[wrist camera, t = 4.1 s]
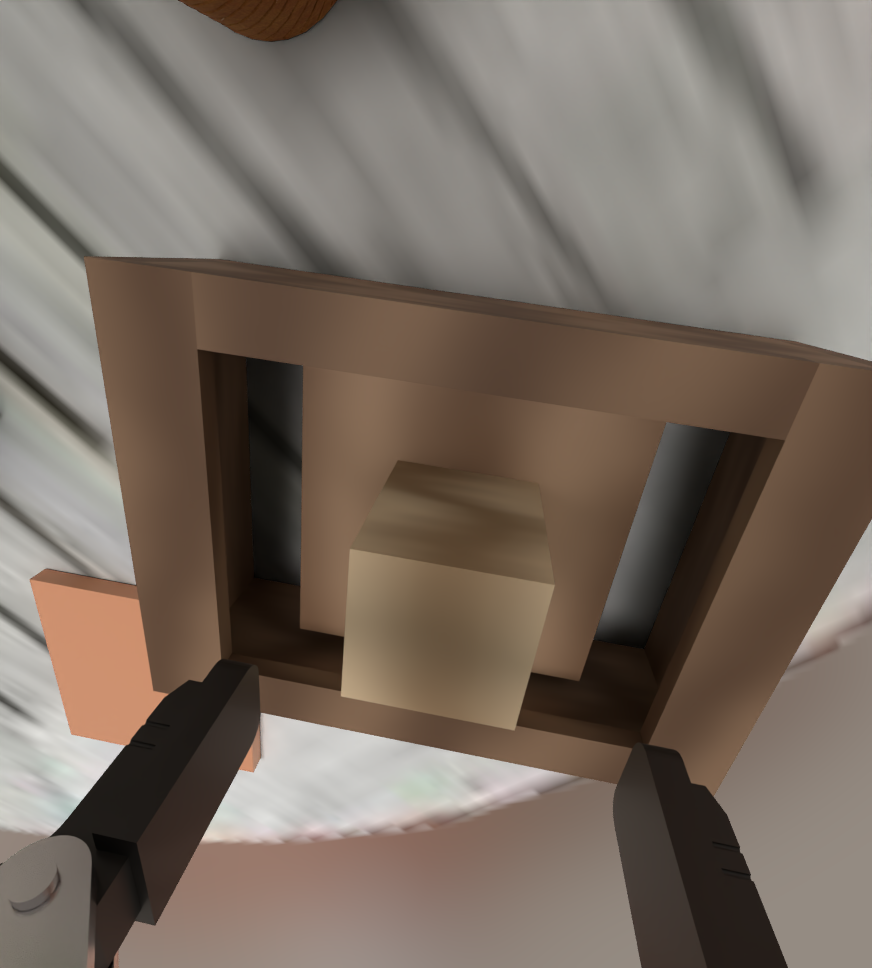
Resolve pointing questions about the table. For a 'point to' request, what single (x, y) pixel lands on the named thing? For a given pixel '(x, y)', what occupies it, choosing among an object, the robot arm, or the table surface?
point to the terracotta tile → (101, 656)
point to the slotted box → (491, 451)
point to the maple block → (447, 595)
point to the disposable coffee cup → (264, 16)
